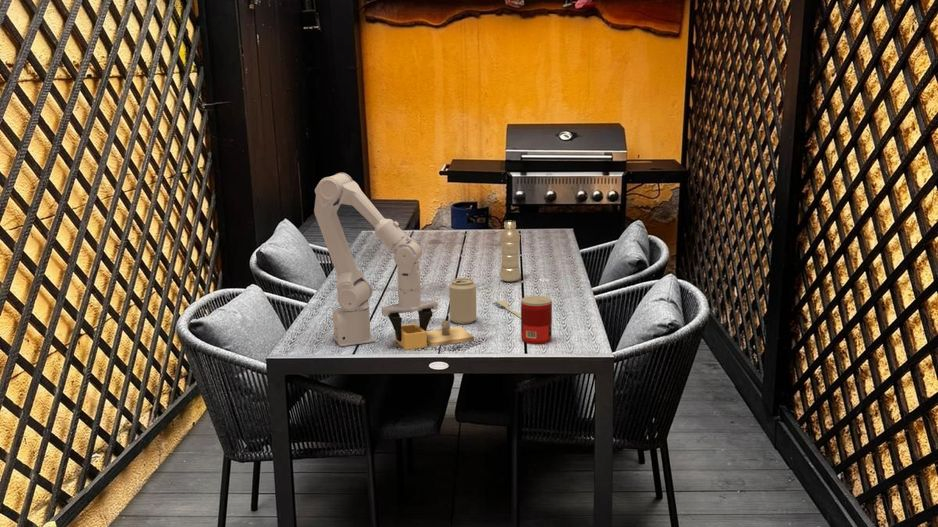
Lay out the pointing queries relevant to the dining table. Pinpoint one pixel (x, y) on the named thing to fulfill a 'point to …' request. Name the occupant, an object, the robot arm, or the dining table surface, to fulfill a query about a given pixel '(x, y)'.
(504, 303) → the fork
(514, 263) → the plastic bottle
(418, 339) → the link
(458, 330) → the wooden block with peg
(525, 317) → the canned food
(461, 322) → the can
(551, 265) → the dining table surface
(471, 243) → the dining table surface
